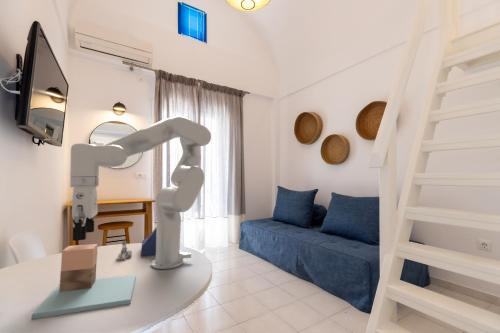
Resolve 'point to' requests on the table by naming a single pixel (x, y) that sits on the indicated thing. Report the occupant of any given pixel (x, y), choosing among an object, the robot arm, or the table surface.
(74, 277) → the walnut brick
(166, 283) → the table surface
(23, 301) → the table surface
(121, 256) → the miniature building cluster
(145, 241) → the blue angular block
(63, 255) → the terracotta brick
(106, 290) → the board
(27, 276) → the table surface
